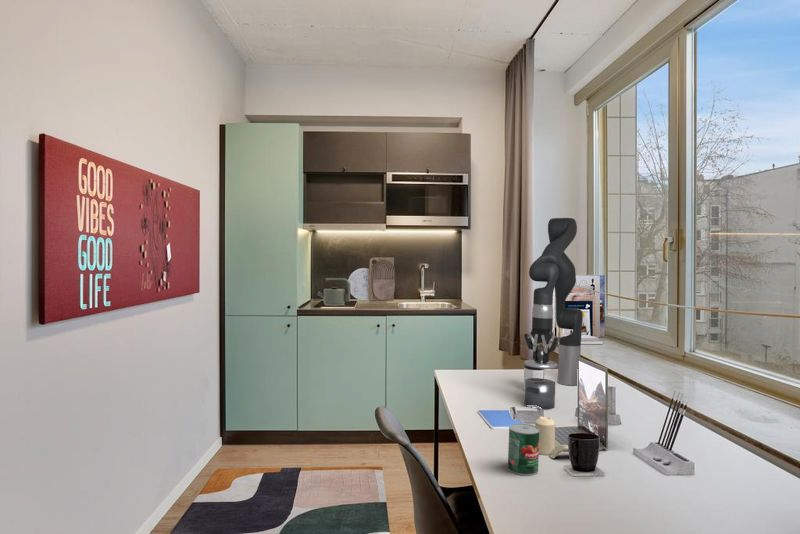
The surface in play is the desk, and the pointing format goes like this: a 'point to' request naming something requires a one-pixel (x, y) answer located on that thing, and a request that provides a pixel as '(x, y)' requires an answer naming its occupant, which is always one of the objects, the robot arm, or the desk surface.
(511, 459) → the canned tomato
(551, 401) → the pot
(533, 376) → the jar
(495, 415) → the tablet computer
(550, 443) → the candle
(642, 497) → the desk surface
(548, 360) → the robot arm
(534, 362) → the lid
